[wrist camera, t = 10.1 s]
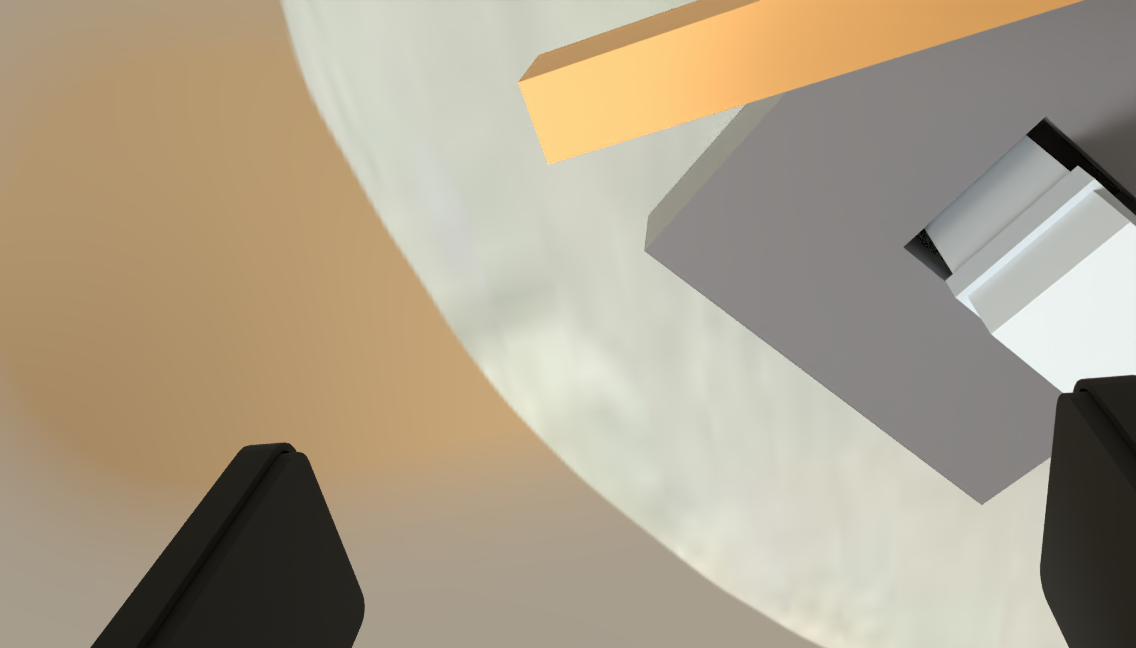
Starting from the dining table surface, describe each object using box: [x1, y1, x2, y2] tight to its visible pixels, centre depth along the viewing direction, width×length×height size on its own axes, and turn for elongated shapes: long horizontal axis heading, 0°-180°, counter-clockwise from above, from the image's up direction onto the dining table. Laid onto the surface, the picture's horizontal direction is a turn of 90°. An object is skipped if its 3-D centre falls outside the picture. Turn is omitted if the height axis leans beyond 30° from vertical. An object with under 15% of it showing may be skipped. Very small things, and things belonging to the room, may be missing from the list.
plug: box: [924, 135, 1136, 393], centre depth 28 cm, size 5×5×10 cm
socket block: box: [644, 0, 1136, 505], centre depth 30 cm, size 18×19×4 cm
